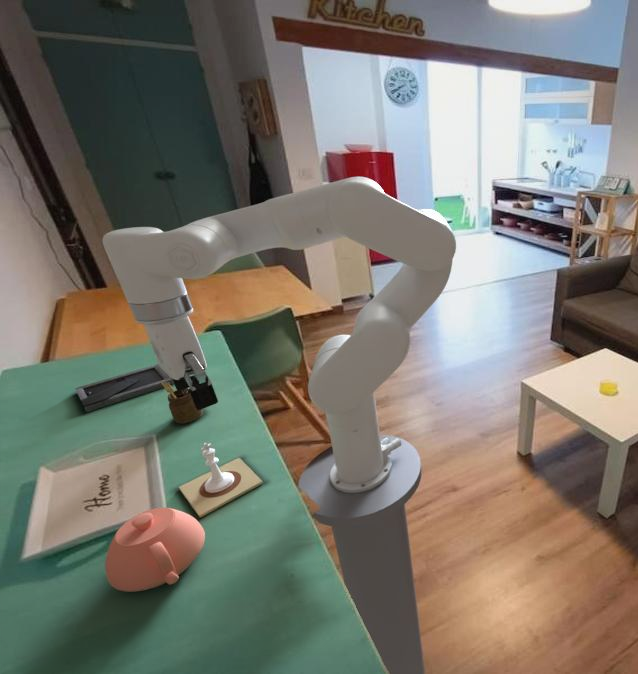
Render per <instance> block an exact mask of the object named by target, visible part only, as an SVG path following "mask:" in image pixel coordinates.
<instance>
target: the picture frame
mask: <svg viewBox="0 0 638 674" xmlns="http://www.w3.org/2000/svg"><path fill="white" fill-rule="evenodd" d="M164 382H165V383H166V384H167V382H168V383H169V384H170V385H171V386H172V385H173V386H174V382H173V380H172V378H171V377H170V376H169V375H168V374H167V373H166V372H165V371H164V370H163V369H162V368H161V367H160V366H159V365H158V363H156V364H154V365H150V366H146V367H143V368H140V369H137V370H132V371H130V372H125V373H122V374H119V375H116V376H113V377H109V378H106V379H102V380H99V381H95V382H92V383H88V384H85V385H81V386H78V387H75V388H74V389H75V392H76V394H77V395H78V397H79V400H80V401H81V404H82V406H83V408H84V410H85V412H86V413H89V412H92V411H97V410H98V409H102V408H105V407H108V406H112V405H114V404H117V403H120V402H123V401H126V400H129V399H133V398H135V397H139V396H141V395H145V394H147V393H151V392H154V391H157V390H160V389H163V388H164V387H163V385H162V384H161V383H163V384H164ZM164 385H165V384H164ZM167 385H168V384H167ZM165 386H166V385H165Z"/></svg>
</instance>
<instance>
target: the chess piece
mask: <svg viewBox="0 0 638 674" xmlns="http://www.w3.org/2000/svg"><path fill="white" fill-rule="evenodd" d="M212 446H213V444H212V443H207V442H204V443H203V447H201V448H200V449H201V451H202V453H201V455H202V457H204V458H205V462H204V464H205V466H207V467H209V468H210V471H211V474H212V477H211V478H209V479H208V480H207V481H206V483H205V490H206V491H207V492H209V493H215V492H220V491H222V490H224V489H226V488H228V487H229V486H230V485H231V484H232V483H233V482H234V476H233V475H232V474H231V473H228V472H223V473H221V471H220V470H219V466H218V463H219V460H220V459H219V458H218V457H216V456H215V455H216V454H215V453H216V449H215V448H211V447H212Z"/></svg>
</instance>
